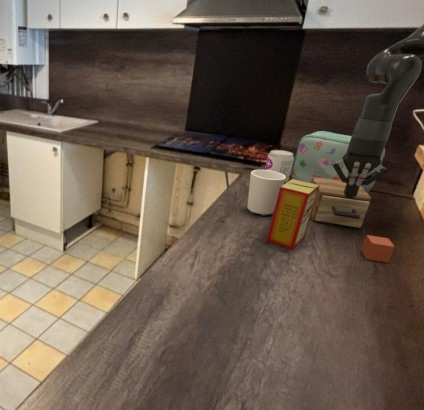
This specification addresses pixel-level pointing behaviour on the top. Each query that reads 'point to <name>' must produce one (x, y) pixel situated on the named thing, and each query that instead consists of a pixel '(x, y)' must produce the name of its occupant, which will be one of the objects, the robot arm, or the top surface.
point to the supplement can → (280, 162)
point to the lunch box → (322, 157)
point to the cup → (264, 191)
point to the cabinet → (333, 193)
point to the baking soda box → (292, 213)
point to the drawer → (342, 210)
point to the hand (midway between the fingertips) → (348, 197)
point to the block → (377, 248)
